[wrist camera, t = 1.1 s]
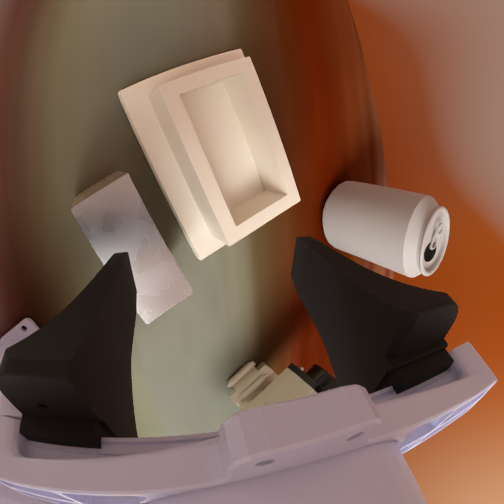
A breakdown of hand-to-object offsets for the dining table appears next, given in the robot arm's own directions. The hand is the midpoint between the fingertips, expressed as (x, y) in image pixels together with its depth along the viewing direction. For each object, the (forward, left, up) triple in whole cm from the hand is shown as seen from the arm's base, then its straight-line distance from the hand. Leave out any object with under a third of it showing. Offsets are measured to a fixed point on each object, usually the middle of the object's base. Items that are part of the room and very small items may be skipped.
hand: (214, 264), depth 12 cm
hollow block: (+6, +3, -11) cm, 13 cm away
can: (+17, -9, -11) cm, 23 cm away
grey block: (-3, +1, -11) cm, 11 cm away
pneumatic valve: (-1, -19, -11) cm, 22 cm away
